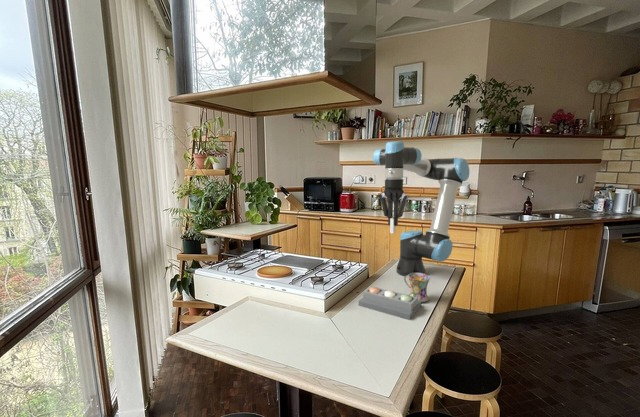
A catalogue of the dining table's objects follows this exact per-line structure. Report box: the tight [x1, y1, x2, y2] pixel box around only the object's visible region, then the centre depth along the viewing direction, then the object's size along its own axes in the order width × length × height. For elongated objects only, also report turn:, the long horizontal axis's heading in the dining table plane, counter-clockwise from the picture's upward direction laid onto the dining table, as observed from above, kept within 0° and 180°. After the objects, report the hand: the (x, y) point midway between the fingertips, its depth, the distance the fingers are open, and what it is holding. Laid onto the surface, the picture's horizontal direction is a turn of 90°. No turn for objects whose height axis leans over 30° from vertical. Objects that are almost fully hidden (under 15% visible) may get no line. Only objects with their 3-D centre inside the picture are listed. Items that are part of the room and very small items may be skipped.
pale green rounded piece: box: [401, 293, 412, 302], centre depth 125 cm, size 4×4×4 cm
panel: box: [358, 285, 422, 321], centre depth 129 cm, size 14×22×5 cm, turn 54°
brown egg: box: [369, 286, 380, 294], centre depth 133 cm, size 4×4×4 cm
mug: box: [403, 273, 431, 303], centre depth 135 cm, size 12×9×11 cm
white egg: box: [385, 290, 396, 298], centre depth 129 cm, size 4×4×4 cm
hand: (392, 232), depth 134 cm, fingers closed
